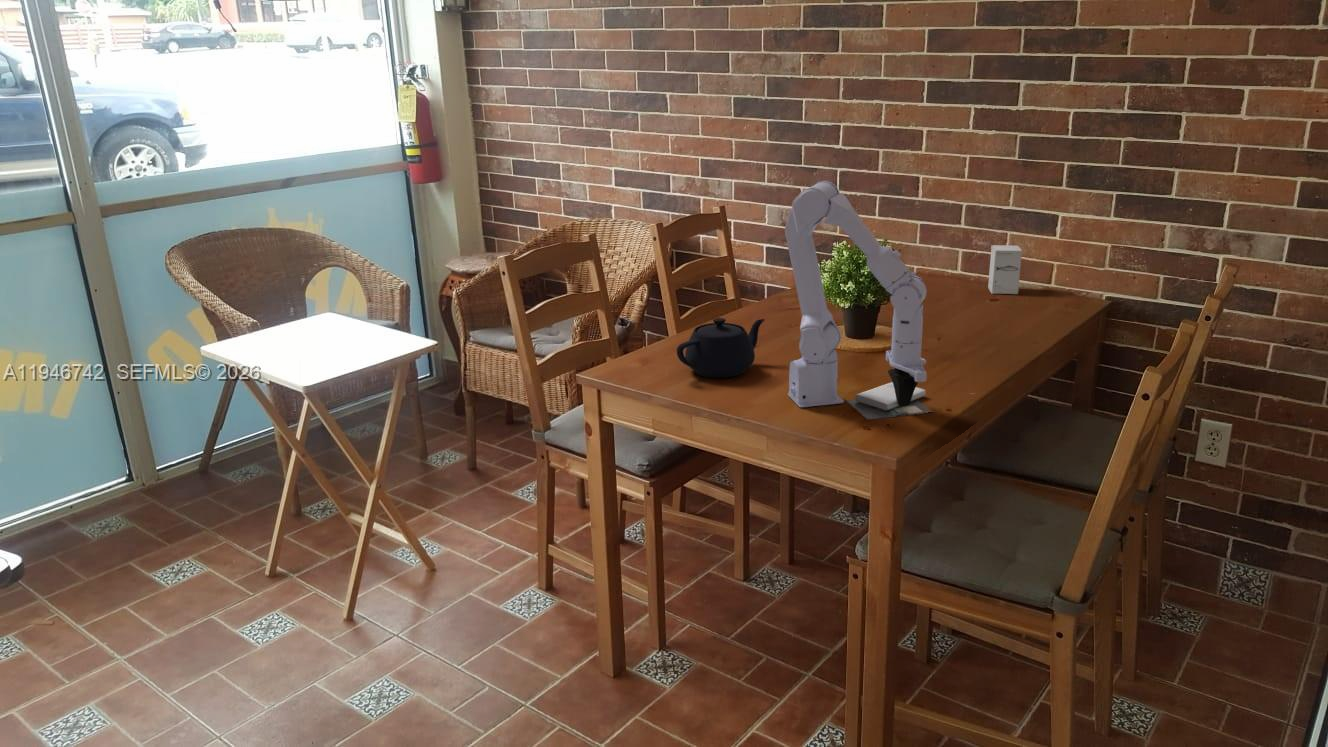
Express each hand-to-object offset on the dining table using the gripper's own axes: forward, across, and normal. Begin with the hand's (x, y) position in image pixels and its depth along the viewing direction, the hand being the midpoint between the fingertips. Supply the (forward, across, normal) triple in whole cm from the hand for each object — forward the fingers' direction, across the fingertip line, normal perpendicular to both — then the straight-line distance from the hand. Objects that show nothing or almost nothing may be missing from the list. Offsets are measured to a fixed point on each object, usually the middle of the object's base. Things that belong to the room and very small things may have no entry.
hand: (903, 404), depth 204 cm
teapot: (+1, +34, +28) cm, 44 cm away
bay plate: (+1, +2, +2) cm, 3 cm away
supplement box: (+1, +78, -66) cm, 102 cm away
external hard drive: (+1, +6, 0) cm, 6 cm away
